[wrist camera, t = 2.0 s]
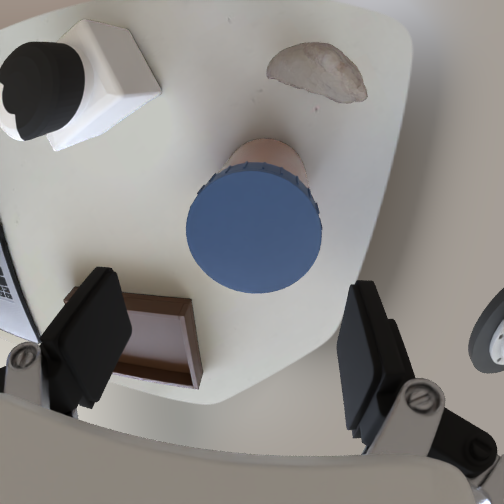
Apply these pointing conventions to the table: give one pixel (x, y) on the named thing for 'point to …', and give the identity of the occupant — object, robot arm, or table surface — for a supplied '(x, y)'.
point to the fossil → (319, 72)
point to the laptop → (13, 300)
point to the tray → (160, 341)
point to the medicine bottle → (74, 85)
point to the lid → (254, 228)
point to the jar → (269, 156)
